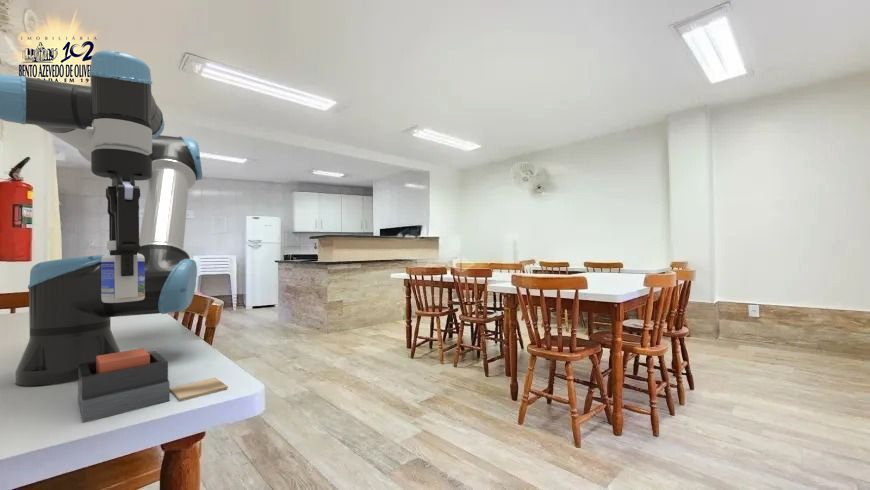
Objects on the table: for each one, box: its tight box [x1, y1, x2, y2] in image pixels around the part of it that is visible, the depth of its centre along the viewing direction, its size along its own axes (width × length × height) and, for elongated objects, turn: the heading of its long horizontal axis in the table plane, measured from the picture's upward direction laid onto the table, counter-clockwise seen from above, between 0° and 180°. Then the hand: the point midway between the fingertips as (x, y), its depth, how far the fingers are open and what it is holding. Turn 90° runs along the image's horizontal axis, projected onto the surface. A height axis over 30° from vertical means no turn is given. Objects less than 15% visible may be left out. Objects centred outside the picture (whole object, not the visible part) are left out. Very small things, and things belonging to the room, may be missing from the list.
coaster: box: [170, 377, 229, 402], centre depth 63 cm, size 7×7×1 cm
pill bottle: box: [101, 240, 145, 303], centre depth 60 cm, size 5×5×10 cm
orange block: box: [96, 347, 150, 374], centre depth 59 cm, size 6×6×5 cm
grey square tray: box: [77, 350, 171, 423], centre depth 59 cm, size 12×10×6 cm
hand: (123, 295), depth 60 cm, fingers closed on pill bottle, 5 cm apart
